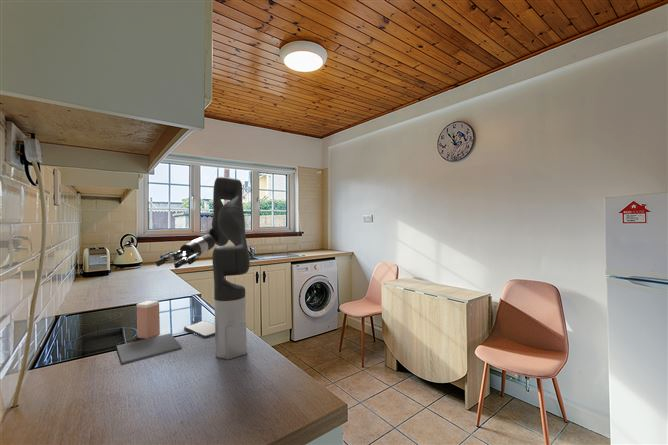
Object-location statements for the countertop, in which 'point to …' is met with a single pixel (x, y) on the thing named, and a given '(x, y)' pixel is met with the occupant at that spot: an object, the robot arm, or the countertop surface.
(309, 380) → the countertop surface
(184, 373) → the countertop surface
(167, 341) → the charcoal mat
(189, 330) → the phone case
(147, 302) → the terracotta block
